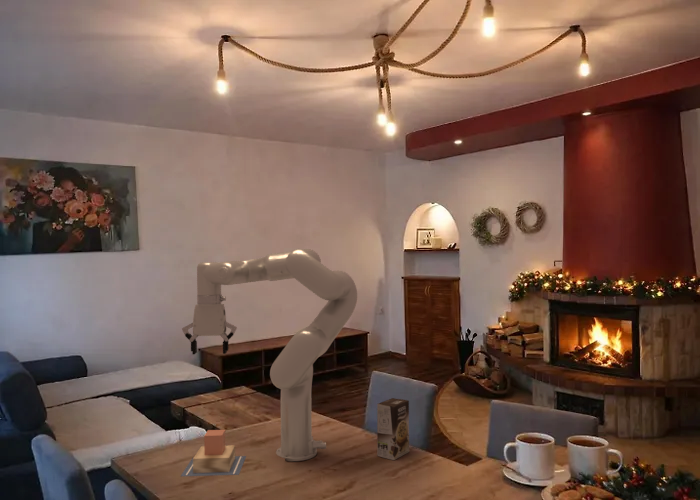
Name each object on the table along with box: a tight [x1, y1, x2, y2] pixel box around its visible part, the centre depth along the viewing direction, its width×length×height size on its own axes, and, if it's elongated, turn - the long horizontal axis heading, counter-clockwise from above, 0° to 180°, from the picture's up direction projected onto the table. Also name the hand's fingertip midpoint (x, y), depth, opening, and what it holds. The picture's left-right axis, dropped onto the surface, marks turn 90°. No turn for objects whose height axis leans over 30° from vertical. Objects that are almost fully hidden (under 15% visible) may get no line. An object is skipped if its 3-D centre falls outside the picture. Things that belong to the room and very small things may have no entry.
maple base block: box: [192, 444, 236, 473], centre depth 158 cm, size 10×10×4 cm
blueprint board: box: [180, 455, 247, 477], centre depth 158 cm, size 16×14×1 cm
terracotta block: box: [203, 429, 226, 455], centre depth 158 cm, size 5×5×6 cm
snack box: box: [376, 397, 410, 461], centre depth 168 cm, size 9×6×16 cm
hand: (209, 353), depth 176 cm, fingers open, 9 cm apart
